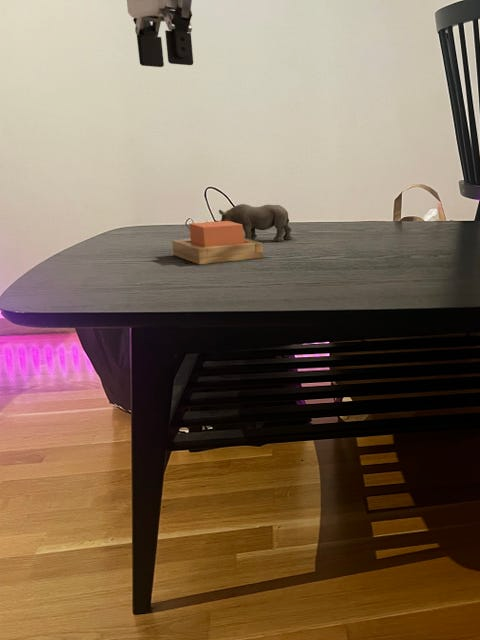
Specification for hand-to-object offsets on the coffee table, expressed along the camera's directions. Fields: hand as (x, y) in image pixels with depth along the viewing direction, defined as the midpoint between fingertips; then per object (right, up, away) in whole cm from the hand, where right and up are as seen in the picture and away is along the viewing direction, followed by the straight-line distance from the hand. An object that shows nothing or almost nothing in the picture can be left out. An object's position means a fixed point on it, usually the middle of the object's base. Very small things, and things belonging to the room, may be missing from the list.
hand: (166, 65), depth 97 cm
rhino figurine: (+5, -21, +22) cm, 31 cm away
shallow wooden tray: (+5, -26, +7) cm, 27 cm away
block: (+5, -25, +7) cm, 26 cm away
